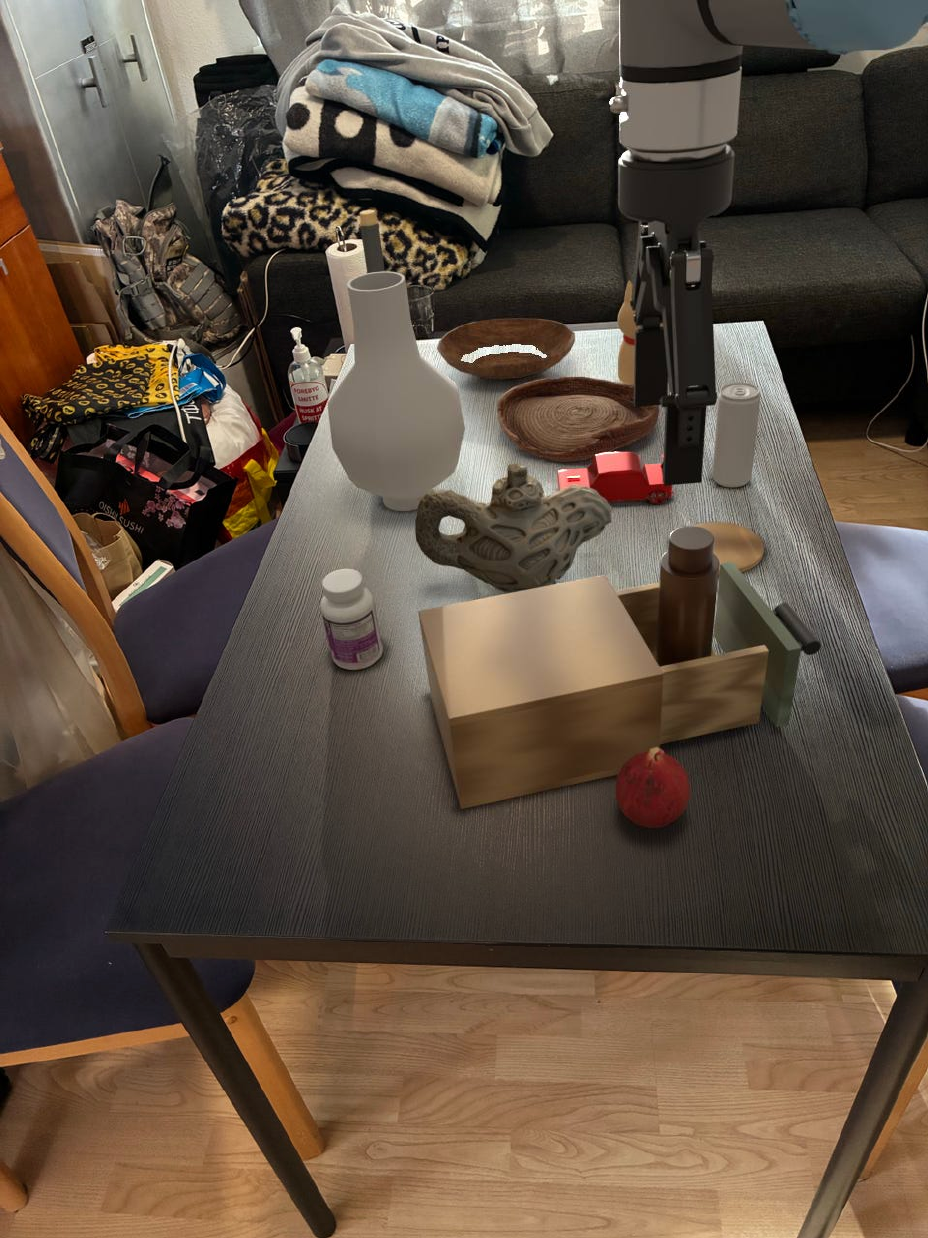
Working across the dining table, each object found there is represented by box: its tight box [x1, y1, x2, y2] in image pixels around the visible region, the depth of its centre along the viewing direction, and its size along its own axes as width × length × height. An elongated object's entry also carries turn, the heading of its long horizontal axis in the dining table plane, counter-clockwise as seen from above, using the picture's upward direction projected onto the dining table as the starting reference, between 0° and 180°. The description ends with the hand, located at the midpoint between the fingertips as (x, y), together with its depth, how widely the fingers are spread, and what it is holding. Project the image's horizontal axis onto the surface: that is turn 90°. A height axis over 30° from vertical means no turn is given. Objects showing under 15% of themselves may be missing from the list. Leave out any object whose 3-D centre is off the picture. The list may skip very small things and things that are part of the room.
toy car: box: [556, 450, 675, 505], centre depth 116 cm, size 14×6×5 cm, turn 88°
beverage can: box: [711, 382, 761, 489], centre depth 115 cm, size 5×5×12 cm
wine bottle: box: [359, 209, 413, 325], centre depth 130 cm, size 8×8×30 cm
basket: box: [496, 376, 660, 463], centre depth 131 cm, size 22×20×5 cm
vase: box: [327, 270, 466, 512], centre depth 113 cm, size 17×16×28 cm
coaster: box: [691, 521, 765, 574], centre depth 106 cm, size 10×10×1 cm
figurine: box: [617, 279, 663, 384], centre depth 139 cm, size 9×10×15 cm
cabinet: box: [417, 574, 664, 810], centre depth 83 cm, size 18×15×11 cm
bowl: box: [436, 317, 576, 381], centre depth 150 cm, size 20×22×5 cm
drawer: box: [615, 561, 822, 745], centre depth 85 cm, size 21×13×9 cm, turn 102°
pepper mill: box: [656, 525, 720, 667], centre depth 82 cm, size 5×5×16 cm
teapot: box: [414, 463, 613, 593], centre depth 100 cm, size 21×12×15 cm, turn 99°
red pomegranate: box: [615, 747, 691, 829], centre depth 74 cm, size 6×6×8 cm
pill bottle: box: [320, 568, 384, 671], centre depth 94 cm, size 5×5×10 cm
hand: (664, 440), depth 75 cm, fingers open, 13 cm apart
